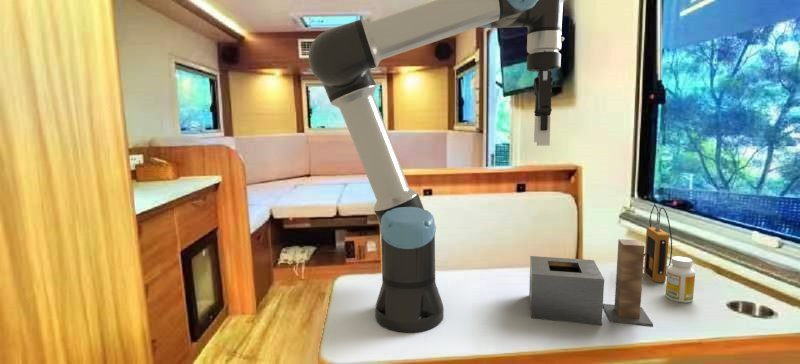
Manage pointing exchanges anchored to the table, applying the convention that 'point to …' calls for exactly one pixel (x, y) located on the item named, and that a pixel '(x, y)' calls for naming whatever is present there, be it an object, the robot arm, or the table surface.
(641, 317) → the rest mat
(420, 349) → the table surface
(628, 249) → the brown rectangular block
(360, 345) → the table surface
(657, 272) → the multimeter
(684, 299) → the supplement bottle
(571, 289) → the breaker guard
